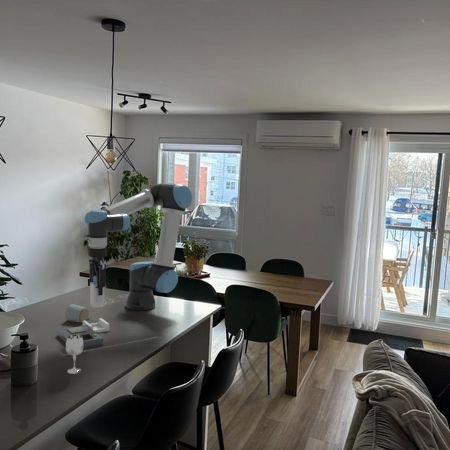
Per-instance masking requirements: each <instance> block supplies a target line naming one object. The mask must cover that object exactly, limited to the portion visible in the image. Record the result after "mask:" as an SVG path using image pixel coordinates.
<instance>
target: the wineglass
mask: <svg viewBox="0 0 450 450" xmlns="http://www.w3.org/2000/svg"><path fill="white" fill-rule="evenodd" d="M83 347H84V344H83V339H82V336H81V335H70V336H68V338H67V341H66V343H65V351H66V353H67V354H68V355H69V356H72V361H73V367H72V368H69V369H67V373H68V374H70V375H71V374H72V375H73V374H74V375H75V374H79V373H81V372H82V369H81V368H78V367H76V360H77V356H78V355H80V354H82V352H83V351H84V348H83Z"/></svg>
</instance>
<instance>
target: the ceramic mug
mask: <svg viewBox="0 0 450 450" xmlns="http://www.w3.org/2000/svg"><path fill="white" fill-rule="evenodd" d="M64 317H65V320H66V321H68V322H73V323H76V324H77V323H79V324H83V321H87V322H88V320H89V319H90V317H91V315H90V311H89V309H88V308H87V307H86V306H82V305H77V304H73V303H72V304H69V305H68V306H67V308H66V310H65V316H64Z"/></svg>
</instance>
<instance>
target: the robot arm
mask: <svg viewBox="0 0 450 450" xmlns="http://www.w3.org/2000/svg"><path fill="white" fill-rule="evenodd" d="M192 195H193V194H192V191H191V190H190V188H189V187H188V186H187V185H184V184H180V183H166V182H165V183H164V182H162V183H158V184H154V185H151V186H148V187H147V188H144V189H141V191H140V192H139V193H137V194H135V195H133V196H130V197H128V198H126V199H124V200H123V199H122V200H121V201H119V202H116V203H113V204H111V205H109V206H106V207H104V208H101V209H97V210H96V209H94V210H90V211H88V212H87V213H86V214H85V216H84V222H85V225H86V226H87V227H88V238H87V241H86V242H87V243H88V244H87V245H88V249H87V250H88V251H87V254H88V257H90V259H88V264H89V283H90V282H93V276H95V275H96V277H97V287H96V303H100V302H103V287H104V288H105V287H106V283H107V282H106V279H107V277H106V276H107V275H106V274H107V273H106V272H107V264H106V263H104V258H105V257H107V255H108V253H107V252H108V251H107V250H108V248H107V246H108V233H110V232H113V233H114V232H123V231H127V230H129V228H130V226H131V219H130V218H131V217H130V215H133V214H134V213H137V212H138V211H139V212H140V211H141V210H143V209H146V208H152V207H157V206H158V207H160V206H161V210H162V211H163V217H162V222H161V223H162V224H161V228H160V235H159V239H158V245H157V251H156V254H155V255H156V256H155V260H154V261H137V262H132V264H130V267H129V269H130V270H129V290H128V291H129V292H128V295H127V298H126V301H125V308H127V309H129V310H133V311H148V310H152V309H154V308H156V300H155V296H154V294H153V293H154V292H153V291H155V292H158V293H165V294H167V293H170V292H172V291H173V290H174V289H175V288H176V286H177V284H178V281H179V275H178V272H177V271H176V270H175V269H176V265H175V264H174V257H175V251H176V246H177V241H178V236H179V230H180V223H181V219H182V215H184V214H185V213H186V209H188V208H189V207H190V206H191V204H192V201H193V196H192Z"/></svg>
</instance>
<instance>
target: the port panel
mask: <svg viewBox="0 0 450 450" xmlns="http://www.w3.org/2000/svg"><path fill="white" fill-rule="evenodd" d="M70 335H81V336H82V339H83V344H84V347H83V349H86V348H90V347H97V346H102V345H104V338H103V336H101V335H100V334H98V333H96V332H95V331H93V330H92V329H91V328H89V327H88V326H87V325H85V326H83V325H79V326H74V327H73V326H72V327H67V328H66V327H65V328H60V329H57V336H58V337H59V338H60V339H61V340H62V341H63V343H65V344H66V341H67V338H68V336H70Z"/></svg>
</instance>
